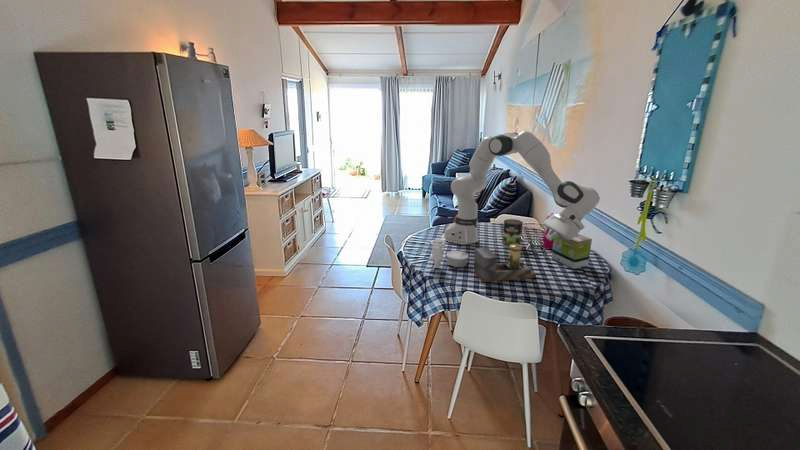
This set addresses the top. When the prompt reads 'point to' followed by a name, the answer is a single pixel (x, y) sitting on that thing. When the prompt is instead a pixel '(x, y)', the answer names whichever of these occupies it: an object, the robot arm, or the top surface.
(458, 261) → the ramekin
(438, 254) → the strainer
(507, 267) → the knob
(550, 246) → the pepper mill
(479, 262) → the rail mount
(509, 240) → the coffee can
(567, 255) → the tea box
